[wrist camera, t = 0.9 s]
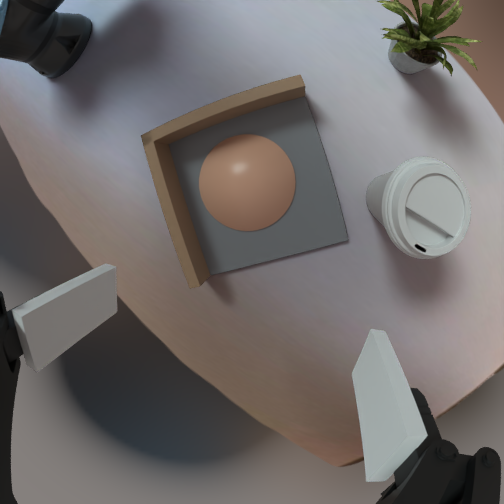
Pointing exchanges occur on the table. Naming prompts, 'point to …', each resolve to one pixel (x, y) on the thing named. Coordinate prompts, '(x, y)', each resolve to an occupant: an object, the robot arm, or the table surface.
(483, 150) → the table surface
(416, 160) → the coffee cup
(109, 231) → the table surface
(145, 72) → the table surface
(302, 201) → the tray
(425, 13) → the house plant
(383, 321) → the table surface
